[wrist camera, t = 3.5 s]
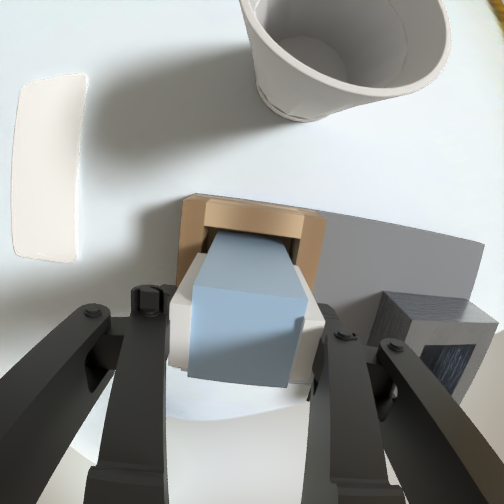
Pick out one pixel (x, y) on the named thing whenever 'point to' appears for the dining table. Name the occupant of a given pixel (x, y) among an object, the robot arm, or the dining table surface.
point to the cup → (343, 51)
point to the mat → (385, 267)
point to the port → (437, 335)
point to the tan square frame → (250, 229)
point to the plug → (246, 311)
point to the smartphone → (47, 168)
